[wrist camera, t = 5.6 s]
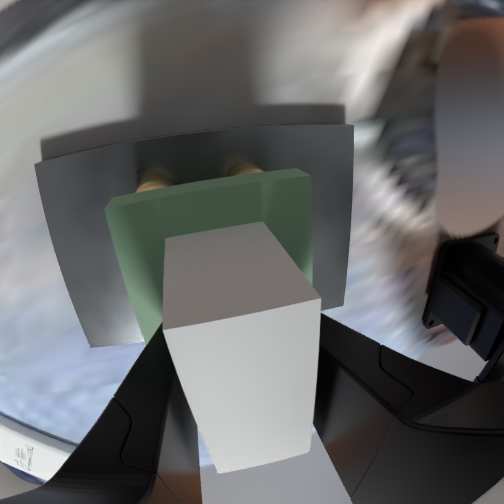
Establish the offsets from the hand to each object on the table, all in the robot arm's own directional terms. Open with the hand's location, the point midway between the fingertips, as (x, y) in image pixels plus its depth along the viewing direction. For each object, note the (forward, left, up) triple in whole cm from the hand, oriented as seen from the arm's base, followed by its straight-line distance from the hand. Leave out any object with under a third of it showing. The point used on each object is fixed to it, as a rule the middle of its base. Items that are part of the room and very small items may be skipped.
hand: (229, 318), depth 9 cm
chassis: (0, 0, -6) cm, 6 cm away
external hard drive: (+16, +18, -7) cm, 25 cm away
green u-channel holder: (0, 0, -1) cm, 1 cm away
